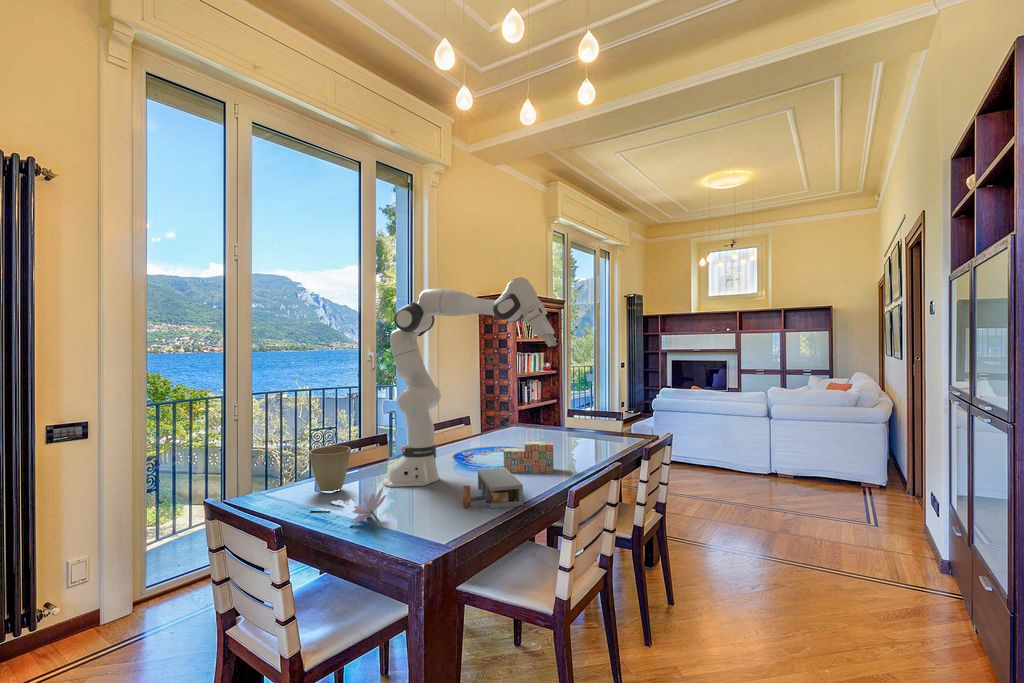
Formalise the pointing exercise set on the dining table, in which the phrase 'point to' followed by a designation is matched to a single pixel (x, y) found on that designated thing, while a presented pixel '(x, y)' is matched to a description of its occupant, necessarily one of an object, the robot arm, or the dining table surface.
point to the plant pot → (330, 466)
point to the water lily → (368, 507)
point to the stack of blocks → (530, 458)
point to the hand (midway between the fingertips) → (553, 345)
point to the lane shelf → (500, 485)
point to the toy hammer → (484, 497)
